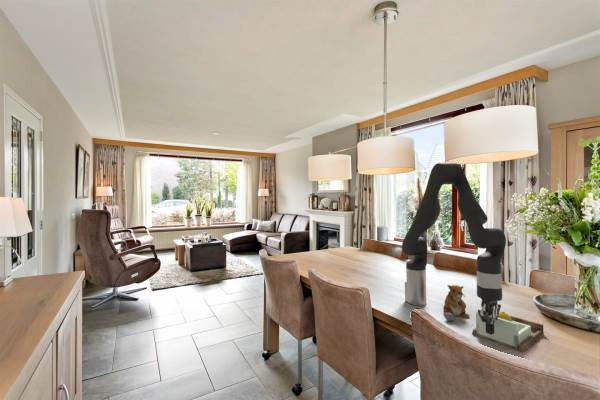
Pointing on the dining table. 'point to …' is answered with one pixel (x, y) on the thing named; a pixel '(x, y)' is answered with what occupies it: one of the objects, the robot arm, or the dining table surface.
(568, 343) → the dining table surface
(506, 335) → the pale green block
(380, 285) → the dining table surface
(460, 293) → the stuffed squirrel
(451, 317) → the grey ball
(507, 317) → the lemon
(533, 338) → the rail board
